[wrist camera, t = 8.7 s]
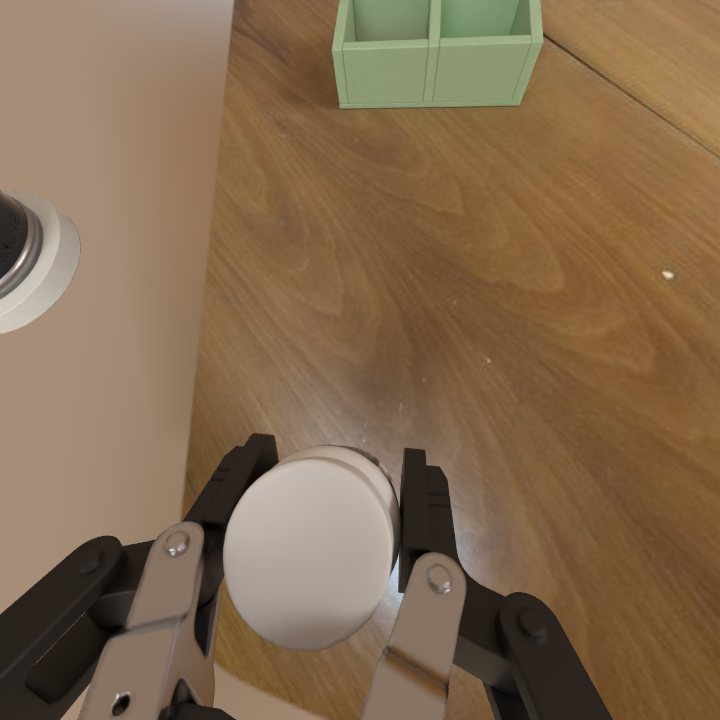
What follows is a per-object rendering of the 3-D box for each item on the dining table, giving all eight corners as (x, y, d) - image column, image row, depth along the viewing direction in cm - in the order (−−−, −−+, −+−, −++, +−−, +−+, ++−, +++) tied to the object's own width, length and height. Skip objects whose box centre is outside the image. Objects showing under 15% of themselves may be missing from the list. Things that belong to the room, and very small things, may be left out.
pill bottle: (277, 489, 16) (165, 529, 8) (353, 426, 16) (321, 403, 8) (337, 578, 15) (277, 732, 7) (417, 507, 15) (450, 571, 7)
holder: (339, 108, 29) (331, 49, 24) (348, 44, 31) (342, -21, 26) (519, 105, 27) (543, 41, 23) (516, 37, 29) (538, -33, 25)
